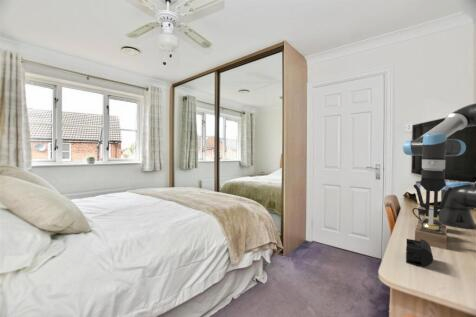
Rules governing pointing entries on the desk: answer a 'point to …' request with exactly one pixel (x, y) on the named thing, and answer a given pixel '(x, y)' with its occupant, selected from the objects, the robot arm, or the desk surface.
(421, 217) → the coffee mug
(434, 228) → the knob
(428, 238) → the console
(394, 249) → the desk surface
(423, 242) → the end cap
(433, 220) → the knob
